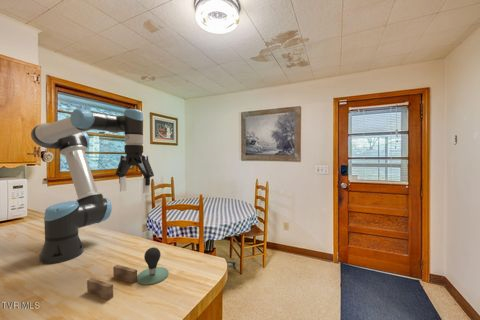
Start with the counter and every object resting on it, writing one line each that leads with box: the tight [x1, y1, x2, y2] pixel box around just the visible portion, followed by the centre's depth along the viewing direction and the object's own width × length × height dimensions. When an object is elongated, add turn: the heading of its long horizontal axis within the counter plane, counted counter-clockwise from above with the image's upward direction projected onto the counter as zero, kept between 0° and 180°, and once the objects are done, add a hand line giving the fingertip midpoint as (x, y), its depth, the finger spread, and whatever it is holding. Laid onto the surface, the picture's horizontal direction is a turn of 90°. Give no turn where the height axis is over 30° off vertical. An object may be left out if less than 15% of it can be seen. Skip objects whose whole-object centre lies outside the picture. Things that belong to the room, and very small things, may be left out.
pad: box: [136, 266, 169, 286], centre depth 80 cm, size 11×11×1 cm
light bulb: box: [143, 247, 162, 275], centre depth 80 cm, size 6×6×10 cm
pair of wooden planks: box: [86, 264, 138, 301], centre depth 74 cm, size 10×11×4 cm
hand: (134, 192), depth 96 cm, fingers open, 13 cm apart
